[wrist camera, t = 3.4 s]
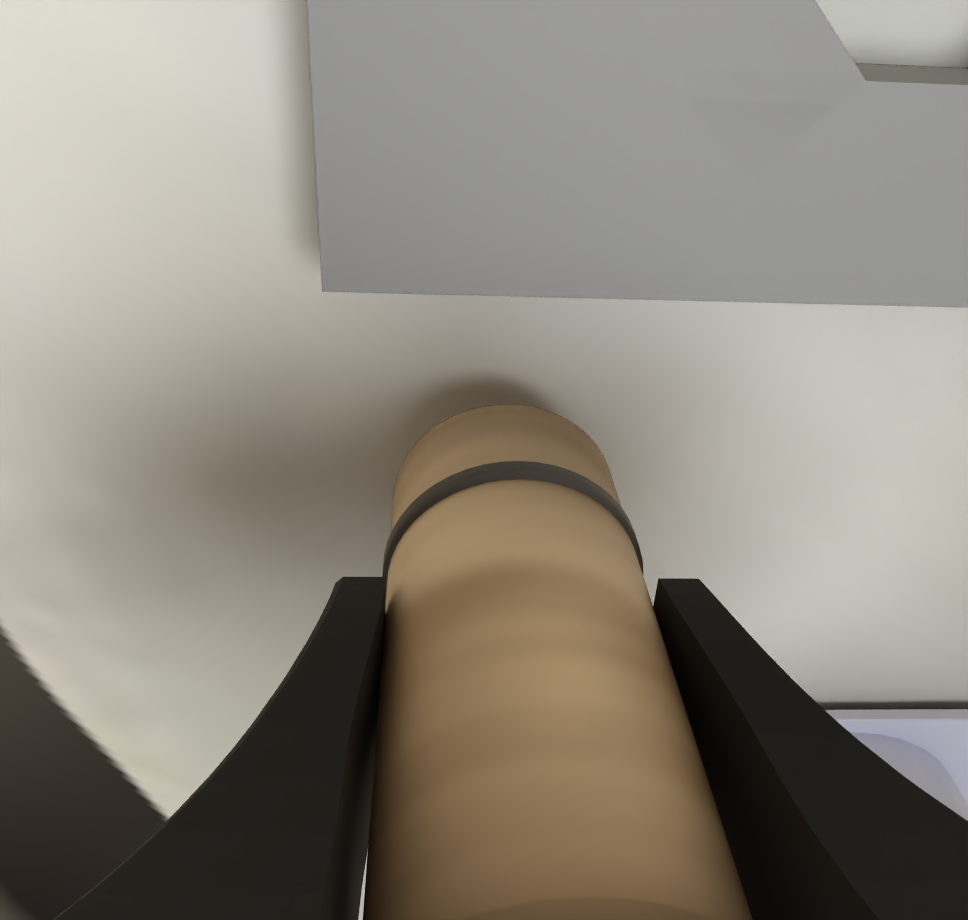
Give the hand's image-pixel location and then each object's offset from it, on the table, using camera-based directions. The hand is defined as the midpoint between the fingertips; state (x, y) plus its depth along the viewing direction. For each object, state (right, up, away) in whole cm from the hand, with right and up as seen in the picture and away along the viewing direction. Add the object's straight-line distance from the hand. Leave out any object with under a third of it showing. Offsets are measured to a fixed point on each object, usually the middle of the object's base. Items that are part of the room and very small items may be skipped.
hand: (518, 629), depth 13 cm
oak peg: (0, +2, +3) cm, 3 cm away
